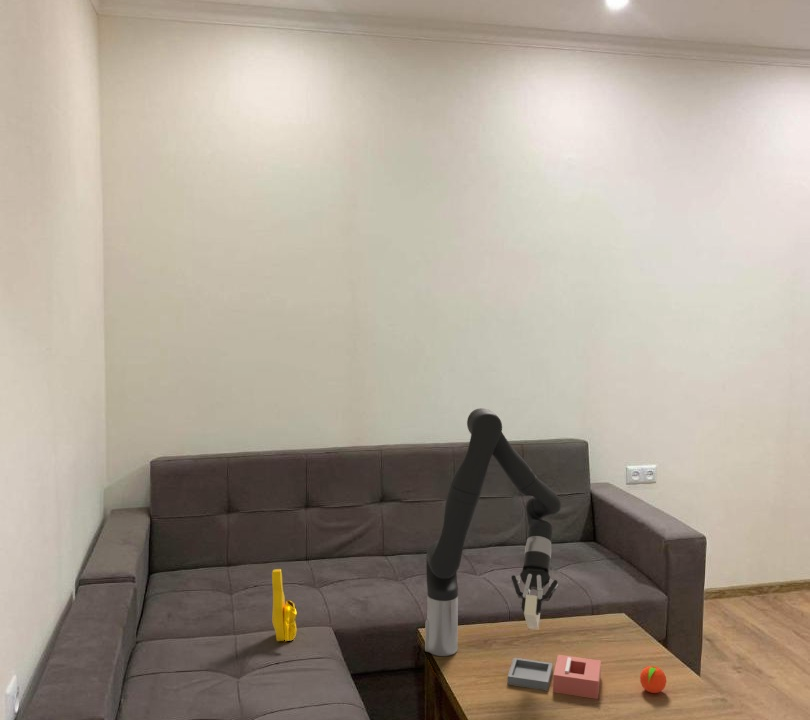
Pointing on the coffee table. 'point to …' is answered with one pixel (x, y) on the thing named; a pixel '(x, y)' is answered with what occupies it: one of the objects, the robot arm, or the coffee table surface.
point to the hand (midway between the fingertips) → (531, 612)
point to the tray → (530, 673)
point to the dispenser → (577, 676)
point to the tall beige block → (531, 612)
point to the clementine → (653, 679)
